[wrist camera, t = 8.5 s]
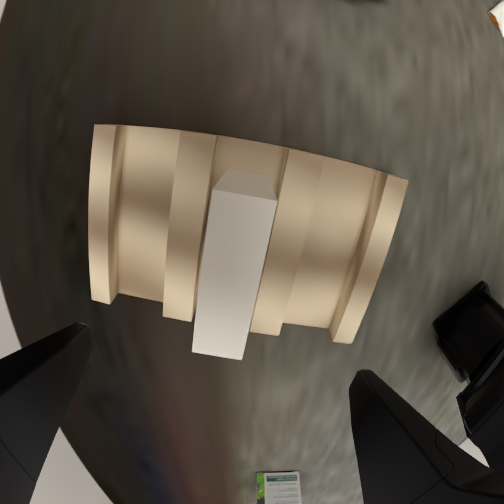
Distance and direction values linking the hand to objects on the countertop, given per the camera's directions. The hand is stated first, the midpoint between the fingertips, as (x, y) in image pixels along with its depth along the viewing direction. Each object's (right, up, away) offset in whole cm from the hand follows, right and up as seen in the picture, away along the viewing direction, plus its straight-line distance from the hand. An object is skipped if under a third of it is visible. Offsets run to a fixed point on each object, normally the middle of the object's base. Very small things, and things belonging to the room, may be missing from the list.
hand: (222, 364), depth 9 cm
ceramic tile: (0, +5, +10) cm, 11 cm away
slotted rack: (0, +5, +11) cm, 12 cm away
